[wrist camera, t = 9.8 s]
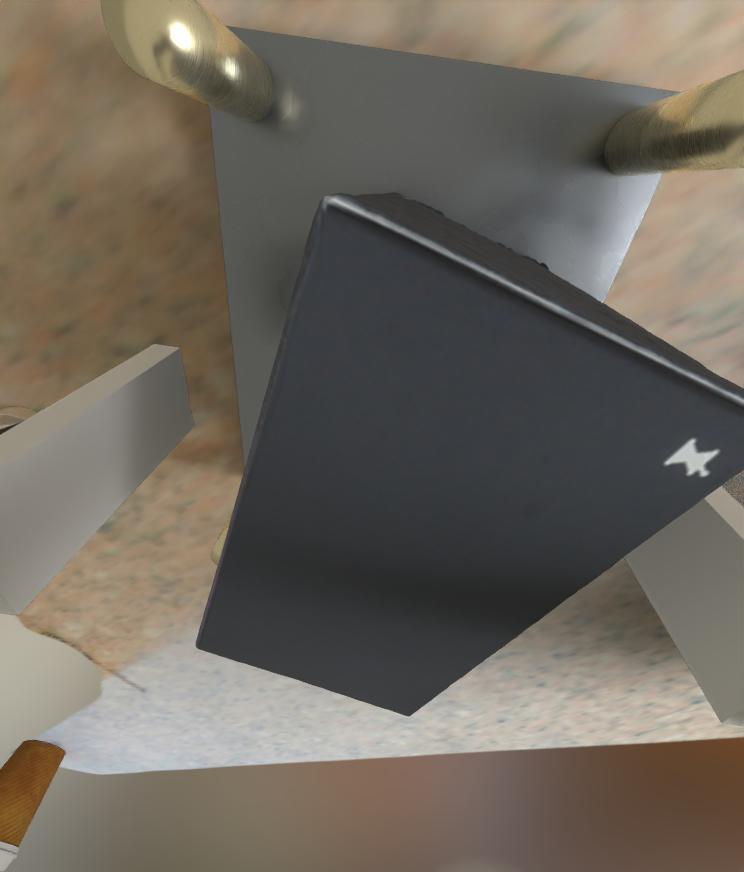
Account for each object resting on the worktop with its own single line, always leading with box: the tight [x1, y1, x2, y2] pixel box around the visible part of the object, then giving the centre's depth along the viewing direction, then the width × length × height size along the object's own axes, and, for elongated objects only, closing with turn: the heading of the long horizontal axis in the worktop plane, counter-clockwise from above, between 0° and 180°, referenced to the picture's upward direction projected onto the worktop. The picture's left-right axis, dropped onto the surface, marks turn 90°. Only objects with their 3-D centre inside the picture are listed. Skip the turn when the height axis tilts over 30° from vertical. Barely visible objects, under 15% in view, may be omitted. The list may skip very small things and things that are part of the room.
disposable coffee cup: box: [0, 740, 65, 872], centre depth 52 cm, size 10×10×12 cm
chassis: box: [101, 0, 744, 565], centre depth 14 cm, size 14×18×6 cm
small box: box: [196, 192, 744, 716], centre depth 11 cm, size 11×6×10 cm, turn 157°
